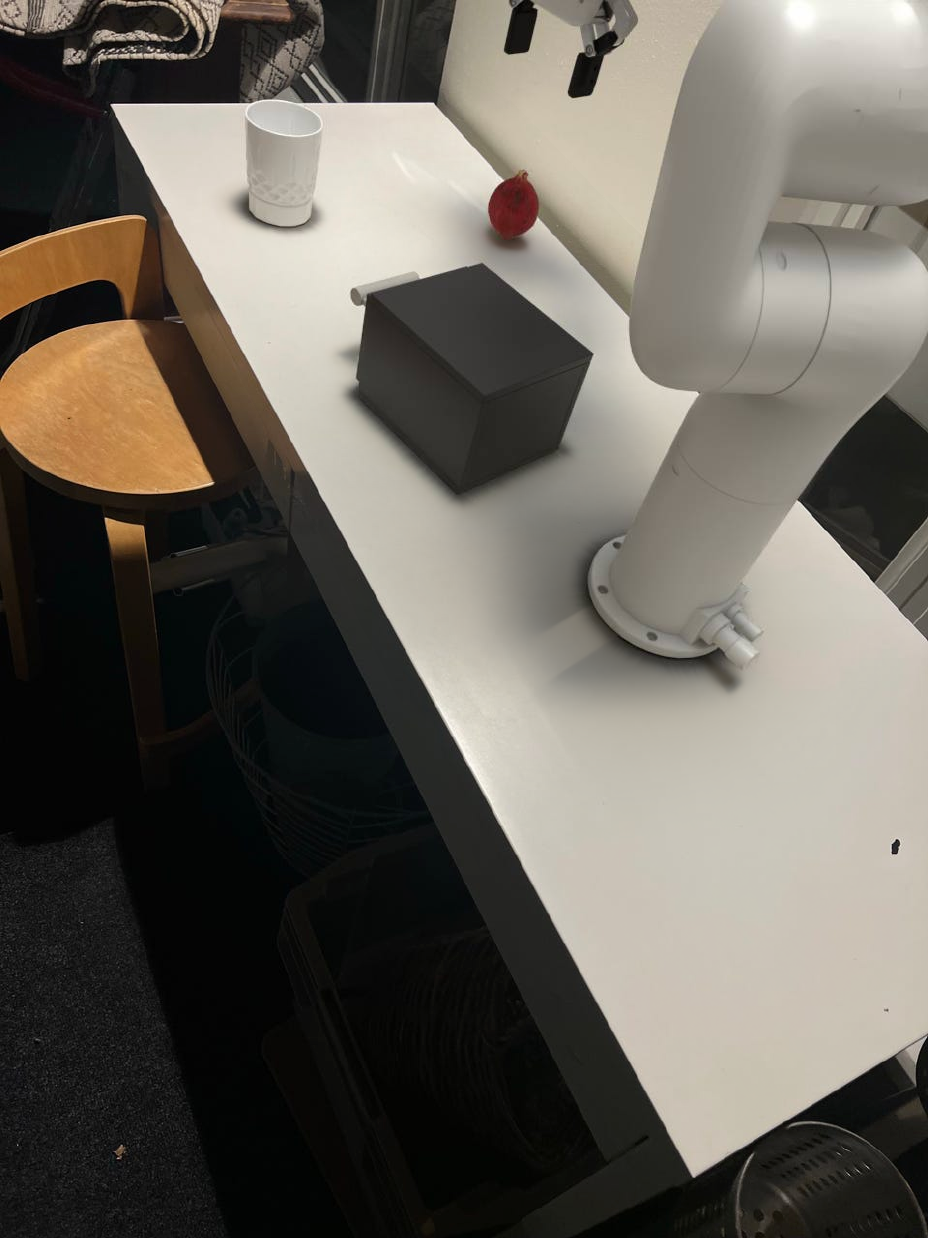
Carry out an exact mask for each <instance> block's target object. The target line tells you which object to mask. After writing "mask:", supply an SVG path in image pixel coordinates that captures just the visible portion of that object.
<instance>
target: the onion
mask: <svg viewBox="0 0 928 1238" xmlns="http://www.w3.org/2000/svg"><path fill="white" fill-rule="evenodd" d="M528 177H529V173H528V172H527V170H526V169H521V170H518V172H517V174H515V176H514V177H510V178H507V179H505V180H503V181H501V182H500V183H499V184H498V185H497V186H496V187H495V188H494V190H493V192H492V193H491V195H490V198H489V201H488V204H487V205H488V206H487V215H488V217H489V223H490V224H491V226H492V228H493V229H494V230H495V232H496V233H497V234H498V235H499V236H500V237H501V238H502V239H504V240H511V239H514V238H517V237H520V236H522V235H524V234H526V233H527V232H529V231H530V230H531V229H532V228H533V227H534V225H535V223H536V221H537V219H538V215H539V209H540V201H539V196H538V194H537V192H536V189H535V187H534V186H533V184H532V183H531V182H530V181H529V180H528Z"/></svg>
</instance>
